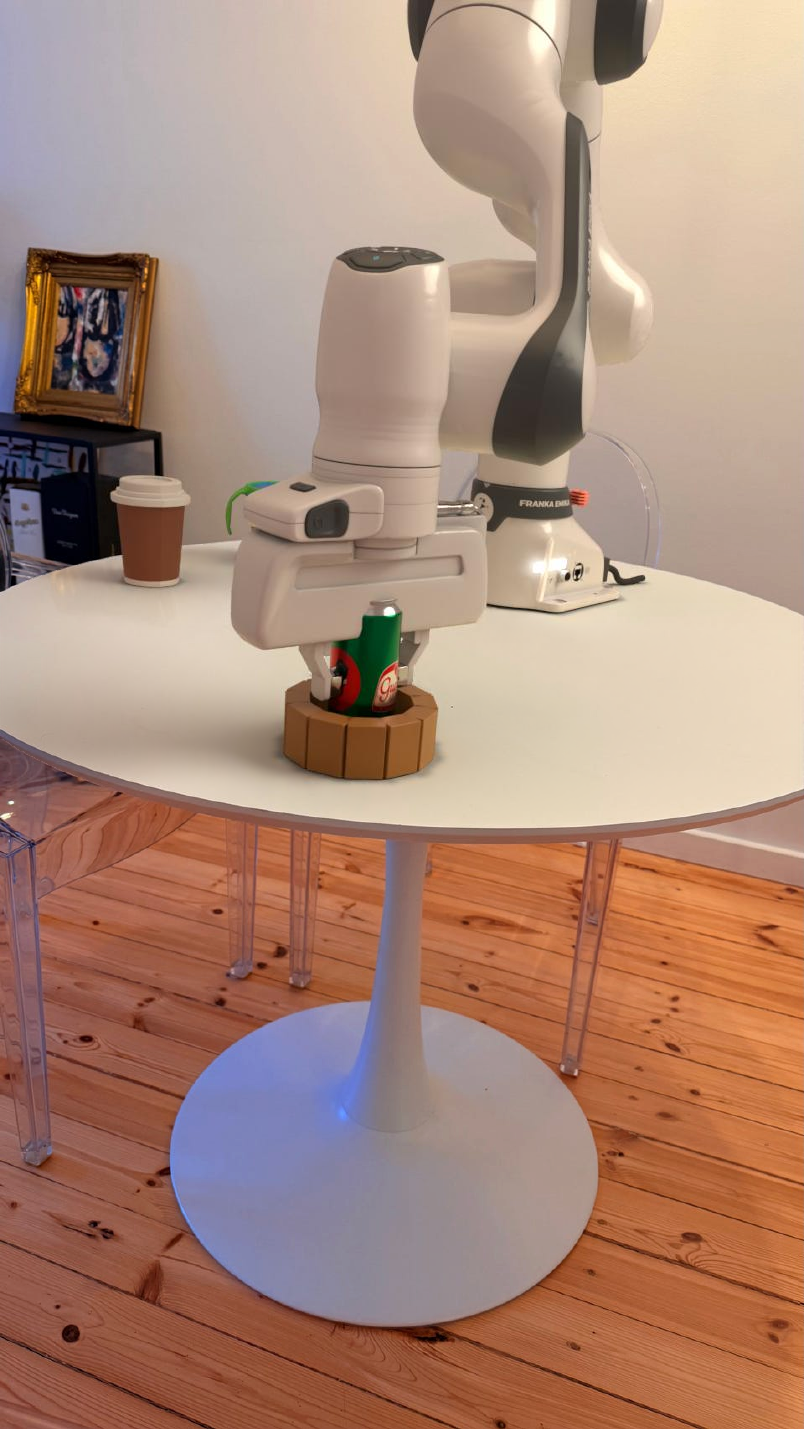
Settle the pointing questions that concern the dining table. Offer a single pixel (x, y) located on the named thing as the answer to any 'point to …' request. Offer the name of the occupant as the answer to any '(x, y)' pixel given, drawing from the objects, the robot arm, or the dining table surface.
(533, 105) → the robot arm
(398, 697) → the brown segmented block ring
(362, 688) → the soda can
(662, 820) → the dining table surface
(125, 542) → the coffee cup
